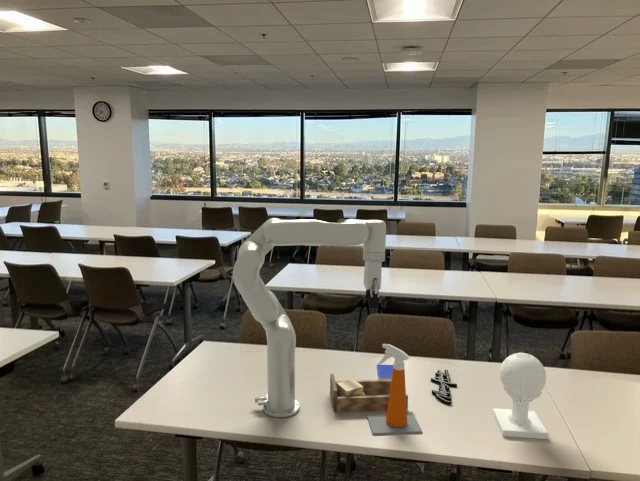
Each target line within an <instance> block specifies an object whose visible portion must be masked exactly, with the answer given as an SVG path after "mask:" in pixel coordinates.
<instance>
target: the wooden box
mask: <svg viewBox="0 0 640 481" xmlns="http://www.w3.org/2000/svg"><path fill="white" fill-rule="evenodd" d="M329 378H330V379H329V389H330V390H329V395H330V401H331V406H332V410H333V413H346V412H377V411H381V412H382V411H387V409H388V402H389V395H390V388H391V381H392V380H379V379H369V380H366V379H365V380H356V381H357V382H358V383H359V384H361V385H362V386H363V393H364V394H365V396H348V397H337V383H339V382H343V381H344V380H336V378H335V374H334V373H329ZM406 406H407V411H408V408H409V407H408V406H409V395H408V394H406Z"/></svg>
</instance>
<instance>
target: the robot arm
mask: <svg viewBox="0 0 640 481" xmlns="http://www.w3.org/2000/svg"><path fill="white" fill-rule="evenodd" d="M386 237H387V223H386V221H384V220H380V219H368V220H365V219H358V218H357V219H356V218H348V219H345V220H344V221H342V222H330V221H329V222H327V221H323V220H318V219H311V218H310V219H306V218H305V219H282V218H281V219H280V218H278V217H272V218H269V219H267V220H266V221H265V222H263V223H262V224H261V225H260V226H259V227H258V228H257V229H255V231H254V232H253V233H252V234H251V235H250V236H248V238H247V239H245V241H243V242H242V244H241V245H240V247H239V250H238V256H237V259H236V260H235V263H234V266H233V270H232V279H233V283H234V285H235V287H236V289H237V290H238V292H239V295H241V298H242V299H243V301H244V303H245V304H246V306H247V308H248V310H249V311H250V314H251V315H252V317H253V318H254V320H255V321H257V322H258V323H260V324H261V326H262V328H263V329H264V331H265V334H266V335H265V336H266V344H267V345H266V346H267V348H266V351H267V352H266V368H267V371H266V372H267V376H266V378H267V393H266V395H263V396H254V403H255V404H257V406H262V407H263V409H262V410H263V412H264V413H265V414H266V415H267V416H269V417H272V418H273V417H274V418H288V417H292V416H294V415H295V414H297V413H298V412H299V411H300V402H299V401H298V400H296V348H297V347H296V344H297V338H296V336H297V335H296V332H295V329H294V326H293V324H292V322H291V319H290V317H289V316H288V314H287V313H286V311H285V309H284V307H283V306H282V305H281V303H280V302H279V300H278V297H276V295H275V294H274V292H273V291H271V290H269V289H268V288H267V286H266V284H265V283H264V280H263V279H262V278H261V275H260V270H261V269H262V267H263V266H264V263H265V258H266V255H267V254H268V253H269V252H271V250H272V249H273V248H274V247H275V246H276V247H279V246H280V247H285V246H288V247H289V246H310V245H311V246H331V247H332V246H333V247H342V246H343V247H344V246H348V247H349V246H359V245H362V244H363V246H362V248H363V250H362V252H363V253H362V260H363V261H364V274H363V285H364V289H365V300H366V301H369V304H368V305H369V307H368V308H370V309H380V290H381V288H382V284H381V283H382V264H383V262H386V239H387V238H386Z"/></svg>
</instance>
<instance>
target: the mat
mask: <svg viewBox="0 0 640 481" xmlns="http://www.w3.org/2000/svg"><path fill="white" fill-rule="evenodd" d="M365 414H366V418H367V421H368V424H369V427H370V430H371V433H372V434H371V435H373V436H376V435H377V436H378V435H401V434H402V435H403V434H423V429H422V428H421V425H420V423H419V421H418V420H417V418H416V416H415V414H414V412H413V411H407V425H406V426H404V427H400V428H397V427H392V426H390V425H388V424H387V422H386V416H387V412H369V413H368V412H366V413H365Z"/></svg>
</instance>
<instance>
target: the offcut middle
mask: <svg viewBox="0 0 640 481" xmlns="http://www.w3.org/2000/svg"><path fill="white" fill-rule="evenodd" d="M355 396H366V394H364V393H362V394H358V395H355ZM337 397H345V396H344V395H343V394H341V393H340V392H339V391H338V390H337Z"/></svg>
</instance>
